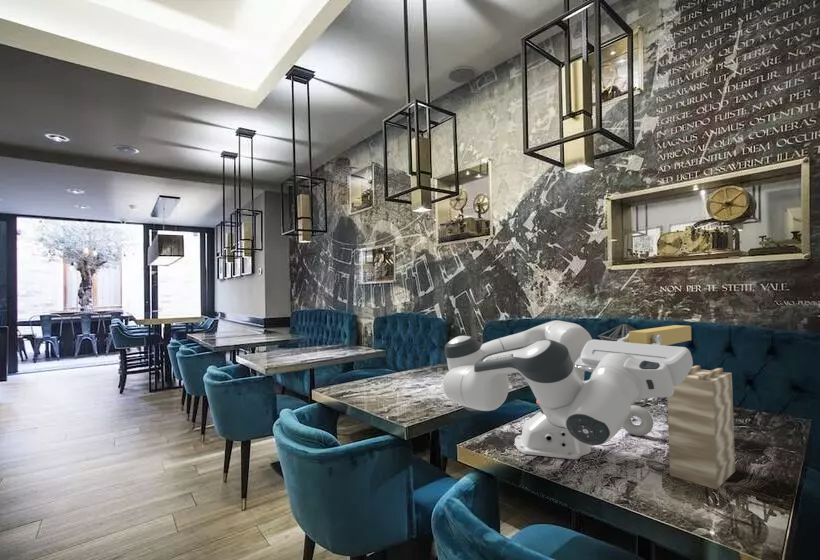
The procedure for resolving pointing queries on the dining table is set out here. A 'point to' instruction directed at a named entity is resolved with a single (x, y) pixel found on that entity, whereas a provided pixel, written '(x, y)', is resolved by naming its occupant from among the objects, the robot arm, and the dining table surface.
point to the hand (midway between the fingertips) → (645, 336)
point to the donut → (645, 418)
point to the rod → (662, 334)
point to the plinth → (702, 428)
